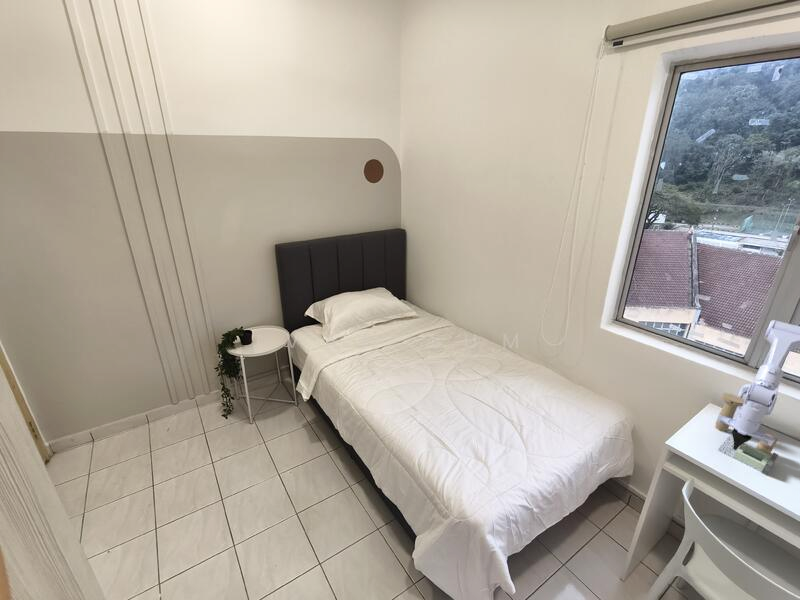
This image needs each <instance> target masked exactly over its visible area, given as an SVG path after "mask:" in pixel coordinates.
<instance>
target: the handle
mask: <svg viewBox="0 0 800 600" xmlns="http://www.w3.org/2000/svg"><path fill="white" fill-rule="evenodd" d="M721 399H722V400H723V401H725V402H724V405H723V406H722V409H721V410H720V412H719V413H718V416H719V415H722V416H725V417H728V418H731V419H733V417H734V414H735V412H736V409H737V407H738V406H743V404H744V401H745V400H744V399H742V398H740V397H738V395H736V394H733V393H727V392H724V393H722V395H721ZM718 416H717V417H718ZM714 428H715V429H716V430H718V431H720V432H723V433H726V431H727V430H728V429H729V428H730V426H728V425H726V424H724V423H722V422H717V420H715V425H714Z"/></svg>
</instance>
